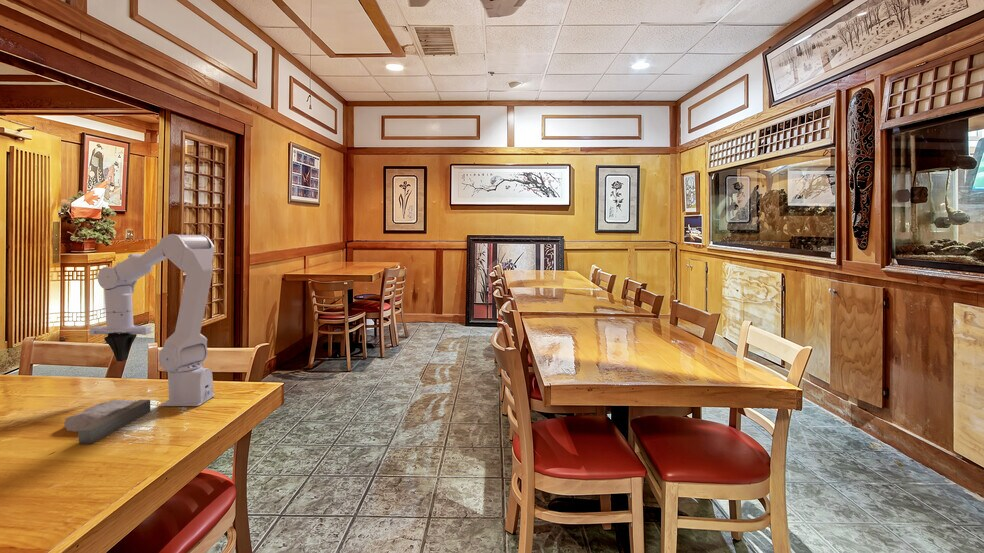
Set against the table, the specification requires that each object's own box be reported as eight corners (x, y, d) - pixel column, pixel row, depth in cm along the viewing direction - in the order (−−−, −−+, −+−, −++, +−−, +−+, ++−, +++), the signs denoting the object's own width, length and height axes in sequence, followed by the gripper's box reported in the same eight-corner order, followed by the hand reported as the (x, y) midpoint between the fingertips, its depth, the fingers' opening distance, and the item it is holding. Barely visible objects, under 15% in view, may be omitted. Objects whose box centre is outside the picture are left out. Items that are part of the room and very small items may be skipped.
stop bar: (150, 411, 113) (150, 399, 112) (91, 444, 95) (90, 430, 95) (140, 411, 113) (139, 399, 112) (79, 444, 95) (78, 430, 94)
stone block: (60, 440, 101) (106, 431, 101) (55, 419, 100) (100, 410, 101) (103, 420, 113) (144, 412, 113) (99, 402, 112) (139, 393, 113)
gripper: (78, 313, 118) (81, 364, 120) (136, 313, 119) (139, 364, 120) (100, 309, 125) (103, 357, 127) (155, 309, 126) (157, 357, 127)
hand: (122, 360), depth 124 cm, fingers closed
